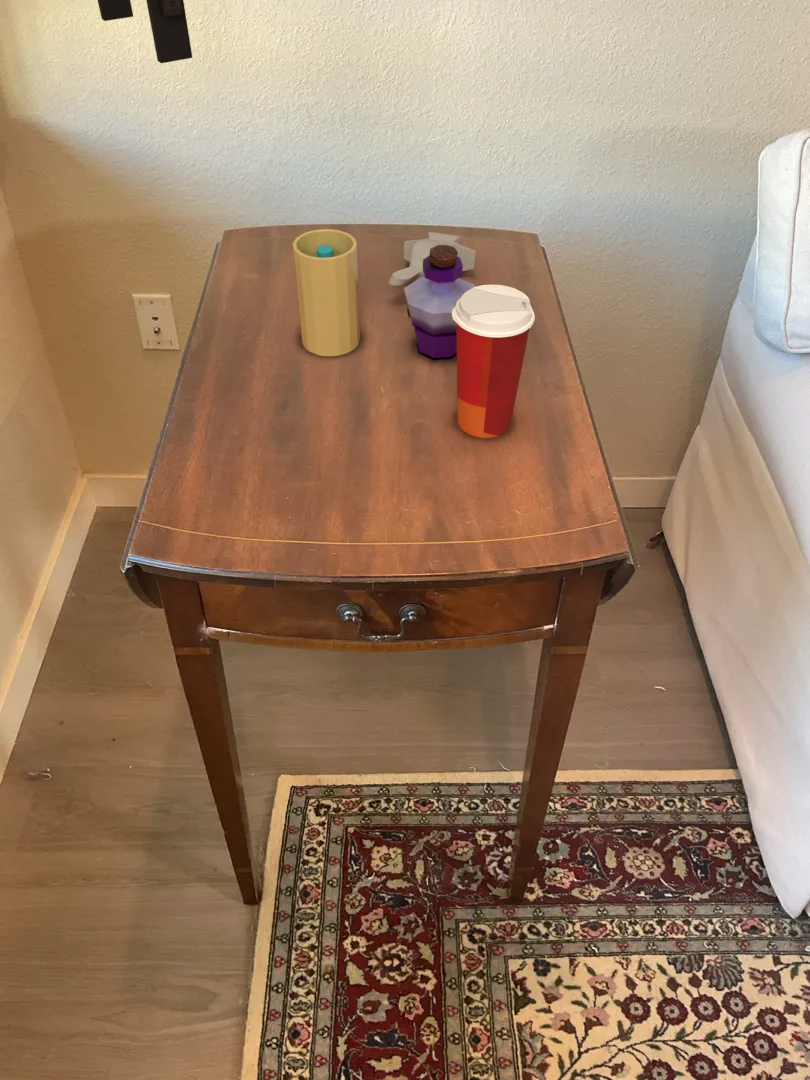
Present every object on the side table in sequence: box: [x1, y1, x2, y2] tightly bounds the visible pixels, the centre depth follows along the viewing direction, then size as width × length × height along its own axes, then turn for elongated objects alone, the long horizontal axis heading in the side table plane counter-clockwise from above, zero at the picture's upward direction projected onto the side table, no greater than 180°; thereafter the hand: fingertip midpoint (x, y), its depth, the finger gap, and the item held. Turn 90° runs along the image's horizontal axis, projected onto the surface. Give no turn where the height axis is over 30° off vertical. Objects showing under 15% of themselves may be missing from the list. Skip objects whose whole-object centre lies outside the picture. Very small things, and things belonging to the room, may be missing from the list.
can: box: [292, 228, 361, 357], centre depth 94 cm, size 7×7×12 cm
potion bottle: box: [403, 245, 476, 361], centre depth 93 cm, size 9×9×12 cm
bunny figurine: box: [388, 231, 477, 287], centre depth 106 cm, size 10×5×15 cm
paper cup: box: [452, 284, 536, 439], centre depth 83 cm, size 8×8×14 cm
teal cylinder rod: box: [317, 245, 334, 258], centre depth 94 cm, size 2×2×11 cm
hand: (144, 38), depth 72 cm, fingers open, 13 cm apart
